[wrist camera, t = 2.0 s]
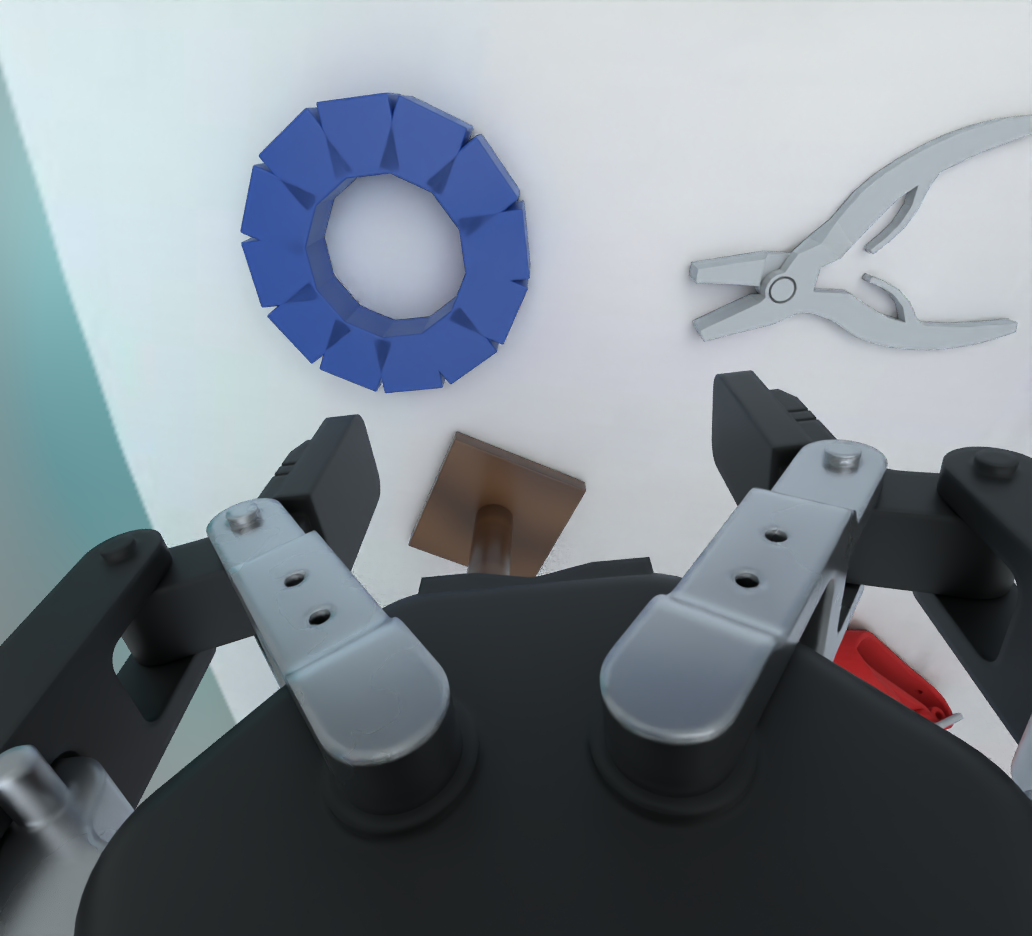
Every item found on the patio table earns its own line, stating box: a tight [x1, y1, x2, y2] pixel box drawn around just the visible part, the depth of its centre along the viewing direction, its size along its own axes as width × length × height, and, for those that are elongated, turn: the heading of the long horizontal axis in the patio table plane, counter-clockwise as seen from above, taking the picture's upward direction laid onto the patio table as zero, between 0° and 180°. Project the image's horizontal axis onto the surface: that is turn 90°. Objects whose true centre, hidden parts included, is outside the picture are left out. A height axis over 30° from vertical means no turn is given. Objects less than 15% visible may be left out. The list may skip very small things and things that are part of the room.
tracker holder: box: [833, 630, 963, 729], centre depth 41 cm, size 12×4×10 cm
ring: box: [241, 93, 530, 393], centre depth 28 cm, size 12×12×3 cm
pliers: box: [689, 115, 1032, 350], centre depth 29 cm, size 10×2×15 cm
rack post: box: [409, 432, 586, 577], centre depth 32 cm, size 8×8×12 cm
